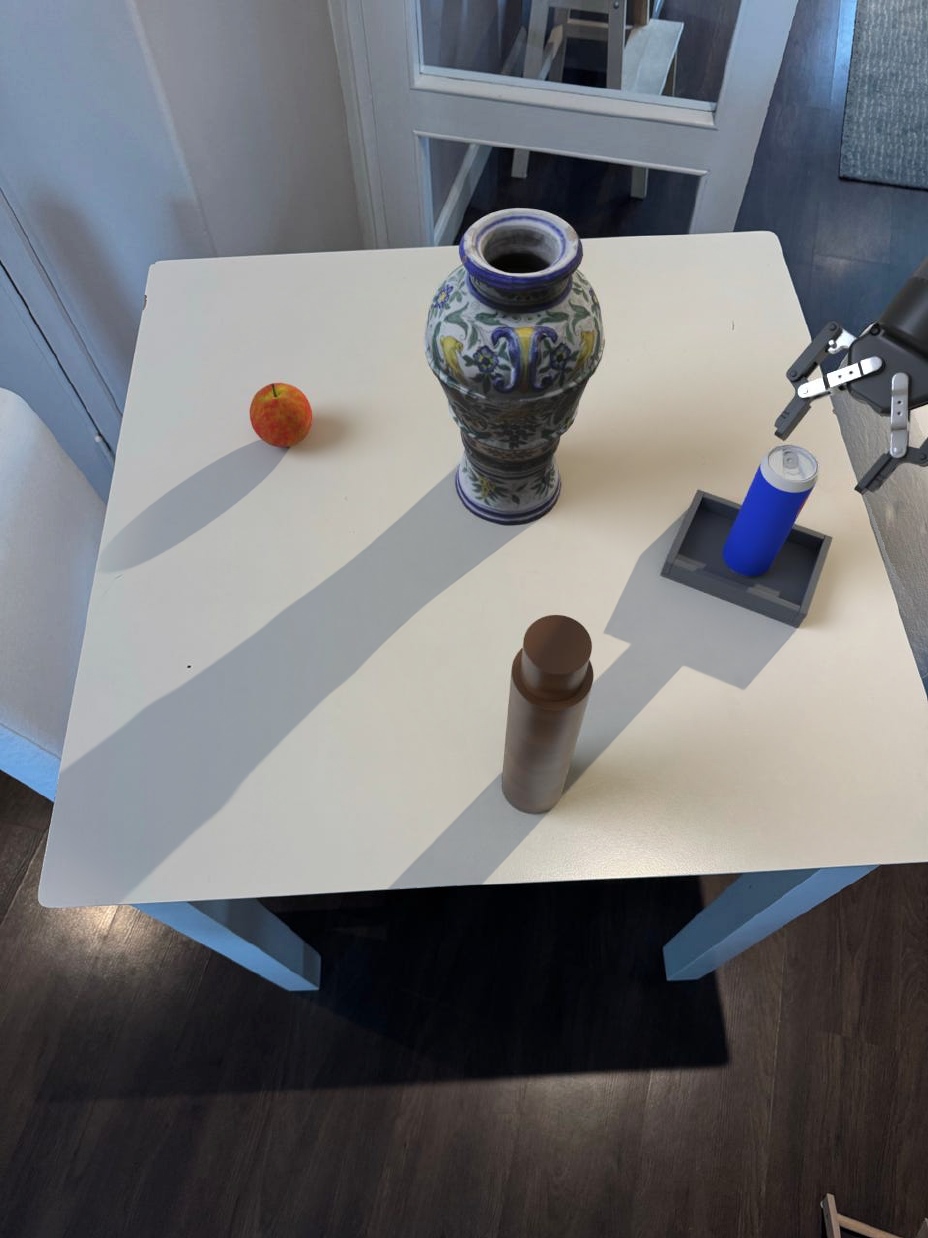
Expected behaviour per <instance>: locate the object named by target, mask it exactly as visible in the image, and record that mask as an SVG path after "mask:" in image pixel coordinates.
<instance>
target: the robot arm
mask: <svg viewBox="0 0 928 1238" xmlns="http://www.w3.org/2000/svg"><path fill="white" fill-rule="evenodd" d="M845 349H848V350H847V362H846V363H847V364H846V367H843V368H840V369H838V370H835V371H832V372H829V373H827V374H824V375H823V376H822V377H820V378H817V379H814V380H811V381H809V380H808V379H809V378H810V377H811V375H812V374H813V373H814V372H815V371H816V370H817V369H818V367H819V366H820V365H821V363H823V362H824V360H826V358H827V357H828V355H829V354H832V355H835V354H838V353H839V352H840V351H842V350H845ZM785 376H786V379H787V380H788V381H789V383H790V384H791V386H792V387H793V388H794V395H793V397H792V398H791V400H789V402H788V404H787V405H786V407H784V408H783V411H782V412H781V413H780V414H779V416H778V417H777V418H776V419H775V422H774V426H773V427H775V428H776V430H775V432H774V436H775V437H777V438H778V439H780V440H781V441H783V442H785V441H786V440H787V439H788V438H789V437H790V435H792V433H793V432H794V431H795V430H796V428H797V426H798V425H799V424H800V423H801V422H802V420H803V419H804V418H805V416H806V415H807V414H808V412H810V410H811V408H812V406H811V404H812V403H813V402H816V401H819V400H822V399H825V398H828V397H831V396H837V395H841V394H843V393H846V392H847V393H848V394H849V396H850V397H851V398H852V399H854V400H855V401H856V402H858V403H860V404H863V405H866V406H869V407H870V408H871V409H872V411H873V412H874V413H876V414H877V415H879V416H880V417H881V418H883V417H886V418H890V445H889V450H888V451H887V452H886V453H885V452H883V453H881V455H880V456H879V458H878V459H877V460H876V462H874V463H873V465H872V466H871V467H870V468H869V469H868V471H867V472H866V473H865V474H864V476H863V477H862V478H861V479H860V480H859V482H858V483H857V484H856V485H855V486H854V488H853V489H854V491H855V492H857V493H858V494H860V495H861V496H864V495H865V494H867V492H868V491H869V492H870V493H872V494H874V493H875V492H877V491H878V490H880V488H881V487H882V486H883V485H884V484H885V483H886V482H887V480H888V479H889V478H890V477H891V476H892V474H893V473H894V472H895V471H896V470H897V468H898V467H900V465H903V464H911V465H914V466H919V467H920V468H926V467H928V436H927V437H926V438H925V440H924V441H923V442H922V444H921V445H920V446H919V448H918V447H914V446H910V434H911V422H912V420H911V418H912V411H913V410H917V409H920V408H923V407H926V406H928V254H927V255H925V257H924V258H923V259H922V261H921V263H919V265H918V266H917V268H916V269H915V270H914V271H913V273H912V274H911V275H910V276H909V278H908V279H907V280H906V281H905V283H904V284H903V285H902V286H901V288H900V289H899V291H897V293H896V295H894V297H893V298H892V299H891V301H890V302H889V304H888V305H887V306H886V307H885V308H884V310H883V311H882V313H881V314H879V316H878V317H877V319H876V320H875V322H873V324H872V325H871V327H870V328H869V329H868V331H866V332H865V333H863V334H861V335H860V336H859V337H856V336H854V335H853V334H851V333H850V332H849V331H847V330H845V329H844V328H843V326H842V325H841V323H840V322H839V321H838V320H835V319H832V320H829V321H828V322H827V323H826V324H825V325H824V326H823V327H822V329H821V330H819V332H818V333H817V334H816V336H815V337H814V338H813V340H812V341H811V342H810V343H809V344H808V345H807V347H806V348H805V349H804V350H803V351H802V353H801V354H800V355H799V356H798V357H797V359H796V360H795V361H794V362H793V363H792V364H791V366H790V367H789V368H788V369H787V371H786V372H785Z"/></svg>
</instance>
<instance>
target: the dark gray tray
mask: <svg viewBox="0 0 928 1238" xmlns="http://www.w3.org/2000/svg"><path fill="white" fill-rule="evenodd" d="M741 506H742V504H741V503H739V502H736V501H732V500H729V499H726V498H724V497H722V496H718V495H716V494H713V493H709V492H707V491H704V490H702V489H699V488H698V489H697V490H696V492H695V495H694V496H693V498H692V501H691V503H690V505H689V507H688V509H687V512H686V513H685V516H684V518H683V520H682V523H681V524H680V526H679V529H678V531H677V534H676V536H675V538H674V540H673V543H672V545H671V547H670V549H669V551H668V554H667V556H666V558H665V559H664V562H663V566H662V568H661V571H660V577H663V578H666V579H669V580H671V581H674V582H676V583H679V584H680V585H681V584H682V585H684V586H687V587H690V588H692V589H695V590H697V591H700V592H703V593H705V594H707V595H710V596H713V597H715V598H718V599H720V600H723V601H726V602H728V603H730V604H734V605H736V606H739V607H741V608H744V609H747V610H749V611H752V612H754V613H757V614H759V615H763V616H765V617H767V618H770V619H773V620H775V621H778V622H781V623H783V624H786V625H789V626H791V627H793V628H796V629H799V628H800V626H801V625H802V623H803V622H804V620H805V619H806V617H807V615H808V613H809V610H810V607H811V604H812V601H813V598H814V595H815V592H816V590H817V586H818V583H819V581H820V577H821V574H822V571H823V569H824V565H825V562H826V559H827V557H828V553H829V550H830V547H831V544H832V542H833V539H834V538H833V536H831V535H828V534H825V533H822V532H821V531H816V530H814V529H811V528H808V527H805V526H803V525H800V524H797V523H794V525H793V527H792V528H791V530H790V532H789V534H788V536H787V538H786V540H785V541H784V543H783V545H782V547H781V549H780V551H779V552H778V554H777V556H776V558H775V560H774V562H773V564H772V565H771V567H770V569H769V570H768V571H767V572H766V573H764V574H762V575H759V576H751V577H749V576H742V575H739V574H737V573H735V572H734V571H732V570H731V569H730V568H729V567H728V566H727V564H726V563H725V561H724V559H723V554H722V551H723V547H724V545H725V542H726V540H727V538H728V536H729V533H730V531H731V529H732V527H733V524H734V522H735V520H736V517H737V515H738V513H739V511H740V508H741Z"/></svg>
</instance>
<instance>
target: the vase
mask: <svg viewBox="0 0 928 1238" xmlns="http://www.w3.org/2000/svg"><path fill="white" fill-rule="evenodd" d="M458 256H459V258H460V261H461V264H460V265H459V266H457V267H456V268H455V269H454V270H452V271H451V272H450V273H449V274H448V276H446V278H444V280H443V281H442V282H441V283H440V284H439V286H438V287H437V289H436V291H435V292H434V295H433V297H432V298H431V301H430V302H431V303H430V305H429V309H428V314H427V319H426V323H425V325H424V331H423V332H424V334H423V349H424V350H423V351H424V355H425V358H426V361H427V364H428V366H429V368H430V370H431V371H432V374H433V375H434V376H435V378H437V380H438V382H439V384H440V386H441V388H442V390H443V393H444V395H445V397H446V400H447V406H448V410H449V413H450V415H451V417H452V419H453V420H454V422H455V424H456V425H457V427H458V428H459V429H460V430H459V431H460V432H459V433H460V438H461V442H462V445H463V447H464V449H463V450H464V451H463V454H462V457H461V460H460V463H459V466H458V467H457V470H456V472H455V488H456V489H455V490H456V493H457V496H458V498H459V500H460V502H461V504H462V505H463V506H464V507H465V508H466V510H468V511H469V512H470V513H471V514H472V515H474V516H476V517H478V518H479V519H482V520H484V521H487V522H490V523H494V524H497V525H500V526H501V525H502V526H520V525H526V524H528V523H531V522H533V521H536V520H539V519H540V518H543V517H544V516H546V515H547V514H548V513H549V512H551V511H552V509H553V508H554V506H556V505H557V502H558V500H559V498H560V495H561V489H562V478H561V474H560V471H559V468H558V464H557V461H556V457H555V453H556V452H557V449H558V447H559V446H560V442H561V437H562V436H563V435H564V434H565V433H567V432H568V430H569V429H570V428H571V427H572V425H573V424H574V422H575V420H576V418H577V415H578V412H579V407H580V401H581V399H582V396H583V394H584V391H585V389H586V386H587V384H588V383H589V380H590V379H591V378H592V377H593V375H594V374H595V373H596V371H597V369H598V367H599V365H600V364H601V361H602V358H603V355H604V349H605V345H606V339H605V327H604V324H603V317H602V309H601V305H600V301H599V299H598V297H597V294H596V291H595V290H594V287H593V286H592V283H590V281H589V280H588V278H586V275H584V273H582V272H581V271H580V270H579V269H578V268H579V267H580V265H582V261H583V257H584V248H583V243H582V240H581V238H580V236H579V235H578V233H577V232H576V230H575V229H574V227H573V226H571V224H569V223H568V222H567V221H565V220H564V219H563V218H561V217H559V216H558V215H556V214H554V213H551V212H548V211H545V210H541V209H535V208H522V207H521V208H520V207H515V208H506V209H501V210H498V211H494V212H491V213H488V214H486V215H485V216H483V217H481V218H479V219H478V220H476V221H475V222H474V223H473V224H472V225H470V226H469V227H468V228H467V230H466V231H465V232H464V234H463V235H462V237H461V239H460V242H459V244H458Z"/></svg>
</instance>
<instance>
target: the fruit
mask: <svg viewBox="0 0 928 1238" xmlns="http://www.w3.org/2000/svg"><path fill="white" fill-rule="evenodd" d="M249 420H250V424H251V426H252V429H253V430H254V433H255V434H256V435H257V436H258V437H259V438H260V439H261V440H262V441H263V442H265V443H266V444H268V445H269V446H273V447H277V448H287V447H294V446H296V445H298V444H299V443H301V442H302V441H303V440H304V439H305V438H306V437H307V436H308V434H309V433H310V430H311V428H312V425H313V410H312V406H311V404H310V401H309V399H308V398H307V396H306V395H305V393H304V392H303V391H301V390H300V389H299V388H298V387H296V386H294V385H292V384H289V383H284V382H273V383H272V382H271V383H269V384H267V385H265V386H264V387H262V388H260V389H259V390H258V391H257V392H256V393H255V394H254V396H253V398H252V400H251V402H250V406H249Z"/></svg>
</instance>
